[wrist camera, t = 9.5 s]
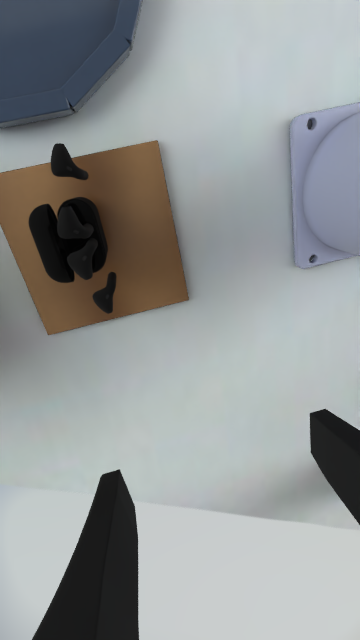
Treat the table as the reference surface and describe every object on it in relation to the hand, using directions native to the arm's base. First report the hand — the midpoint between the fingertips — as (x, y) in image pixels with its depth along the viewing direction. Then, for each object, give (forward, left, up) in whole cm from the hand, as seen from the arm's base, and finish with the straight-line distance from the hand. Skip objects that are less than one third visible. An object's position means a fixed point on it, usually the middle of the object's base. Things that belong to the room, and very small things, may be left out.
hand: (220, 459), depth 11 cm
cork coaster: (+3, -7, -9) cm, 12 cm away
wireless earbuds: (+4, -8, -9) cm, 13 cm away
